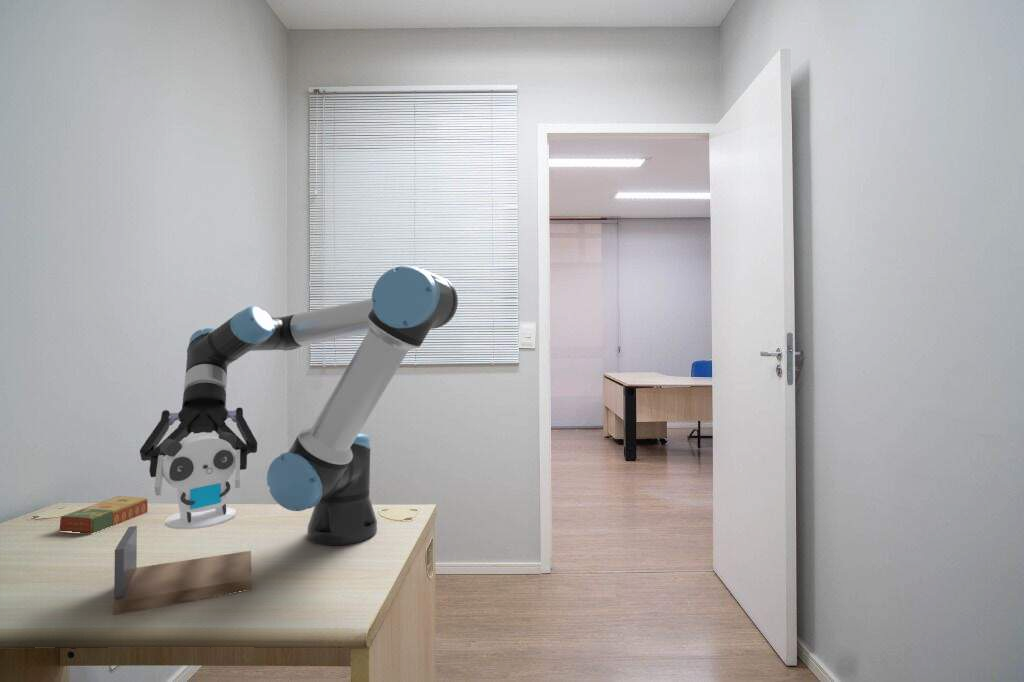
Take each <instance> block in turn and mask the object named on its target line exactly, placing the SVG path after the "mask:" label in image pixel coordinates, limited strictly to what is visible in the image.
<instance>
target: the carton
mask: <svg viewBox="0 0 1024 682" xmlns="http://www.w3.org/2000/svg"><path fill="white" fill-rule="evenodd" d="M148 507H149V506H148V498H147V497H144V496H123V495H118V496H115V497H113V498H109V499H107V500H104V501H101V502H99V503H96V504H93V505H90V506H88V507H84V508H81V509H79V510H76V511H72V512H69V513H68V514H64V515H61V516H60V519H59V532H60V531H72V532H80V533H94V532H97V531H99V532H101V531H100V530H102V529H104V530H106V529H105V528H107V527H109V528H111V527H110V526H112V527H114V526H117V525H119V524H122V523H124V522H126V521H129V520H132V519H134V518H137V517H139V516H142V515H144V514H147V513H148V510H149V509H148ZM116 524H117V525H116ZM113 525H114V526H113ZM107 529H108V528H107ZM102 531H103V530H102ZM97 533H98V532H97Z"/></svg>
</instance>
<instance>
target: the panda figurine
mask: <svg viewBox="0 0 1024 682" xmlns="http://www.w3.org/2000/svg"><path fill="white" fill-rule="evenodd" d="M236 435H237V434H236ZM236 435H234V434H231V433H227V432H222V433H220V434H219V435H218V437H217V436H213V435H197V436H196V435H195V436H192V437H188V438H187V437H186V438H183V439H182V440H181V441H180V442H177V441H175V440H172V439H166V438H165V439H166V440H165V439H164V440H163V441H162V442H160V444H161V445H160V444H159V445H160V451H161V452H162V453H164V454H166V456H165V457H164V462H163V465H162V475H163V480H165V481H166V483H167V484H169V485H170V486H171V487H173V488H175V489H177V497H178V498H177V499H178V508H179V512H177V513H173V514H172V515H170V516H168V517H167V518H166V519H165V521H164V526H165V527H167V528H169V529H174V530H196V529H203V528H210V527H215V526H218V525H221V524H224V523H227V522H229V521H231V520H233V519H234V518H236V517H237V510H236V509H234V508H232V507H227V502H226V497H227V496H226V495H228V493H229V492H230V490H231V484H230V482H229V481H228V480H229V479H230V478H231V477H232V475H233V473H234V471H235V462H236V452H235V450H234V449H233V448H232V446H231V444H235V443H236V442H237V437H236Z"/></svg>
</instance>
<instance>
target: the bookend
mask: <svg viewBox="0 0 1024 682" xmlns="http://www.w3.org/2000/svg"><path fill="white" fill-rule="evenodd" d="M137 537H138V526H137V525H133V526H128V527H127V529H126V531H125V533H124V534H123V536H121V539H120V541H119V542H118V544H117V545H116V547H115V549H114V582H113V583H114V585H113V586H114V591H113V592H114V597H113V599H114V600H115V599H121V598H124V596H125V593H126V591H127V589H128V587H129V585H130V583H131V580H132V578H133V576H134V574H135V572H136V569H137V568H138V567H137V563H138V561H137V555H138V554H137V553H138V551H137V548H138V542H137V541H138V539H137ZM114 600H113V601H114Z"/></svg>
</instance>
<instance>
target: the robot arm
mask: <svg viewBox="0 0 1024 682" xmlns="http://www.w3.org/2000/svg"><path fill="white" fill-rule="evenodd" d="M458 298H459V297H458V293H457V291H456V288H455V286H454V285H453V284H452V282H451V281H450V280H449V279H447V278H446V277H444V276H442V275H440V274H437V273H434V272H432V271H428V270H426V269H423V268H422V267H420V266H412V265H410V266H409V265H400V266H397V267H393V268H390V269H388V270H387V271H385V272H384V273H383V274H382V275H381V276H380V277H379V278H378V280H377V281H376V282H375V284H374V285H373V289H372V292H371V298H368V299H363V300H362V299H361V300H358V301H354V302H353V301H352V302H349V303H344V304H338V305H334V306H329V307H325V308H319V309H315V310H310V311H306V312H300V313H299V312H298V313H295V314H290V315H286V316H280V317H279V316H278V317H272V316H271V315H270V314H269V313H268V311H266V310H265V309H261V308H260V307H259V306H254V305H253V306H247V307H246V308H244V309H243V310H241V311H238V312H237V313H235V314H234V315H233V316H231V318H229V319H228V320H226V321H225V322H223V323H222V324H221V325H219V326H218V327H217V328H212V327H207V328H204V329H198V330H196V331H194V332H193V334H192V335H191V336H190V338H189V343H188V346H187V349H186V367H185V368H186V369H185V376H184V384H183V385H184V387H183V394H182V395H183V396H182V405H181V409H180V411H179V412H170V411H169V410H168V409H165V410H163V411H161V415H160V416H161V417H160V420H159V421H158V423H157V425H156V426H155V427H154V429H152V432H151V433H150V435H149V436H148V438H147V439H146V441H145V442H144V443H143V445H142V446H141V448H140V449H139V455H140V459H141V461H143V462H145V461H146V462H147V461H149V462H150V463H149V470H148V471H149V476H150V477H151V478H155V479H154V493H155V496H156V497H157V496H162V491H163V490H162V489H163V482H164V481H163V480H164V477H163V475H162V465H163V462H164V459H165V457H166V454H164V453H162V452H161V451H160V445H161V441H162V439H163V438H164V437H165V435H166V434H167V432H168V430H169V428H170V426H173V424H175V422H176V421H179V424H178V426H177V428H175V429H174V430H173V431H172V432H171V433H170V434H169V435H168V436H166V438H165V439H164V440H166V439H172V440H175V441H177V442H180V441H182V440H184V439H187V437H188V436H189V435H191V433H193V434H201V433H206V434H211V433H213V432H215V433H216V435H218V436H219V434H220V433H222V432H227V433H231V434H234V435H236V437H237V442H236V443H235V444H231V446H232V448H233V450H234V452H235V458H236V462H235V469H234V471H235V472H234V475H235V477H234V488H235V489H239V488H241V485H240V484H241V482H240V481H241V477H240V476H241V471H242V470H247V468H248V455H249V454H251V453H252V454H256V453H257V452H258V440H257V439H256V437H255V436H254V433H253V432H252V430H251V428H250V426H249V424H248V422H247V421H246V419H245V417H244V413H243V412H244V411H243V410H244V409H243V408H242V407H237V408H236V409H235V410H228V409H227V407H226V406H227V405H226V404H227V384H228V383H227V381H228V380H227V379H228V378H227V377H228V376H227V375H228V372H227V371H228V367H229V365H230V364H232V363H234V362H235V361H238V359H240V358H241V357H242V356H244V355H245V354H247V353H249V352H253V351H256V352H257V351H292V350H296V349H299V348H301V347H303V346H309V345H314V344H318V343H319V344H320V343H324V342H330V341H335V340H340V339H346V338H351V337H358V336H361V335H362V336H363V335H365V336H364V338H363V339H362V342H361V343H360V345H359V347H358V349H356V351H355V354H353V356H352V359H351V360H350V362H349V364H348V365H347V367H346V369H345V371H344V372H343V374H342V376H341V377H340V379H339V381H338V382H337V384H336V385H335V387H334V389H333V390H332V393H331V394H330V396H329V398H328V399H327V401H326V402H325V404H324V406H323V408H322V410H321V411H320V413H319V414H318V416H317V418H316V419H315V421H314V423H313V425H312V427H309V428H305V429H302V430H301V431H300V432H299V434H298V435H297V436H296V438H295V440H294V442H293V444H292V445H291V447H290V449H289V450H288V451H287V452H285V453H284V452H283V453H281V454H279V455H278V456H277V457H275V458H274V459H273V461H271V463H270V465H269V467H268V469H267V473H266V474H267V475H266V482H267V486H268V487H269V493H270V495H271V497H272V498H273V500H274V501H275V502H276V503H277V504H278V505H279V506H281V507H282V508H283V509H286V510H288V511H290V512H291V511H292V512H302V511H304V510H308V509H312V508H313V510H312V513H311V516H310V518H309V522H308V525H307V539H308V540H309V541H310V542H311V543H315V544H318V545H325V546H341V545H350V544H355V543H360V542H363V541H365V540H367V539H370V538H372V537H373V536H374V535H376V533H377V532H378V520H377V516H376V514H375V510H374V507H373V505H372V501H371V498H370V484H371V482H370V481H371V480H370V479H371V476H370V475H371V450H372V449H371V443H370V441H371V440H370V439H371V438H370V437H369V435H368V434H366V433H362V432H361V430H362V429H363V427H364V426H365V424H366V422H367V421H368V419H369V417H370V415H371V414H372V412H373V411H374V409H375V407H376V405H377V404H378V402H379V401H380V399H381V397H382V395H383V394H384V392H385V391H386V389H387V387H388V386H389V384H390V383H391V381H392V379H393V377H394V375H395V374H396V372H397V371H398V369H399V367H400V366H401V364H402V362H403V360H404V359H405V357H406V355H407V354H408V352H409V351H410V350H413V349H418V348H420V347H421V345H422V344H423V342H424V341H425V339H426V337H427V336H428V335H429V332H430V331H431V330H433V329H438V328H442V327H444V326H445V325H446V324H448V323H449V322H450V321H451V320H453V318H454V316H455V314H456V312H457V309H458V304H459V299H458ZM228 418H229V419H231V421H232V422H233V423H236V427H237V429H238V431H239V433H240V435H241V436H242V438H243V440H242V439H241V438H240V437H239V436H238V435H237V434H236V433H235V432H234V431H233V430H232V429H231V428H230V427H229V426H228V424H226V421H227V420H228Z"/></svg>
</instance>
